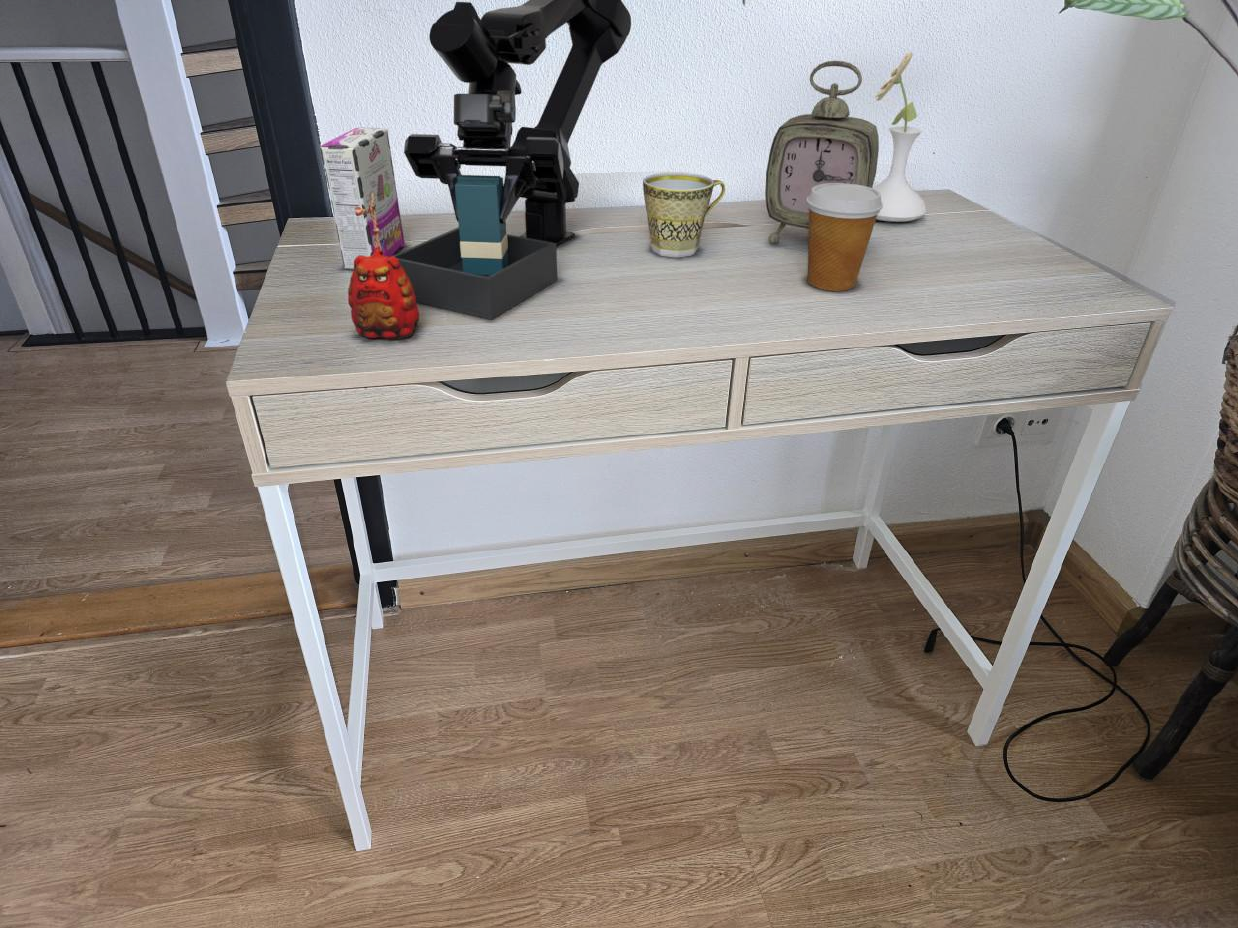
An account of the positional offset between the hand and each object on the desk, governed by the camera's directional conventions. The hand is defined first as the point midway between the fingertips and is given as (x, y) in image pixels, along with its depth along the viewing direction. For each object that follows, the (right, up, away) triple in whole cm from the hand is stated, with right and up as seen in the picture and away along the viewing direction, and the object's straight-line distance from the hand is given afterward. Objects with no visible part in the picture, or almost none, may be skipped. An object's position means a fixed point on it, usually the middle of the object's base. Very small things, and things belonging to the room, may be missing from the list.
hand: (479, 221), depth 98 cm
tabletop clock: (+46, +4, +25) cm, 53 cm away
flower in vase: (+61, +11, +36) cm, 72 cm away
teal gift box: (0, -5, +5) cm, 7 cm away
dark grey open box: (-2, -7, +8) cm, 10 cm away
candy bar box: (-18, 0, +17) cm, 25 cm away
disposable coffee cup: (+45, -5, +11) cm, 47 cm away
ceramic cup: (+26, +2, +22) cm, 34 cm away
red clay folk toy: (-10, -14, -4) cm, 18 cm away
